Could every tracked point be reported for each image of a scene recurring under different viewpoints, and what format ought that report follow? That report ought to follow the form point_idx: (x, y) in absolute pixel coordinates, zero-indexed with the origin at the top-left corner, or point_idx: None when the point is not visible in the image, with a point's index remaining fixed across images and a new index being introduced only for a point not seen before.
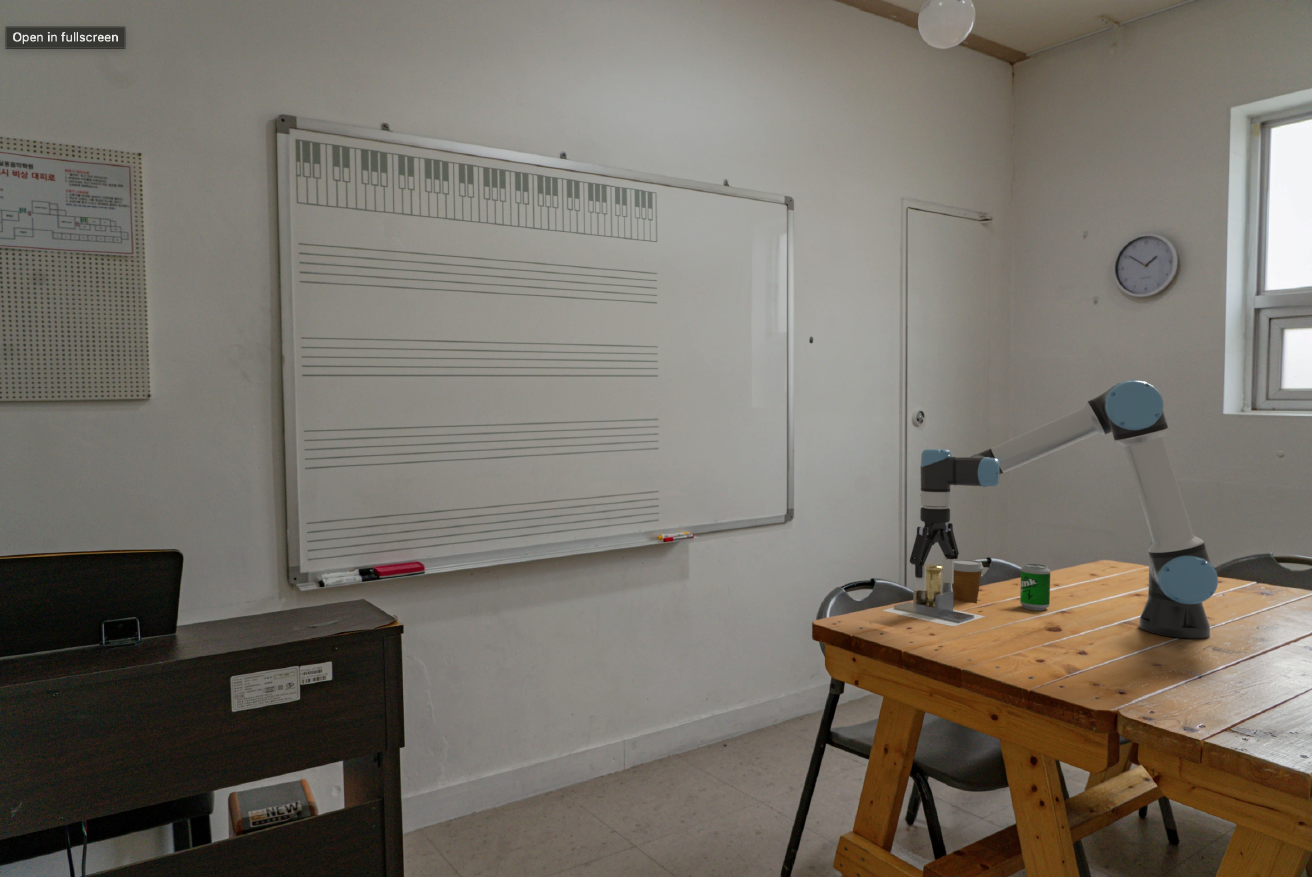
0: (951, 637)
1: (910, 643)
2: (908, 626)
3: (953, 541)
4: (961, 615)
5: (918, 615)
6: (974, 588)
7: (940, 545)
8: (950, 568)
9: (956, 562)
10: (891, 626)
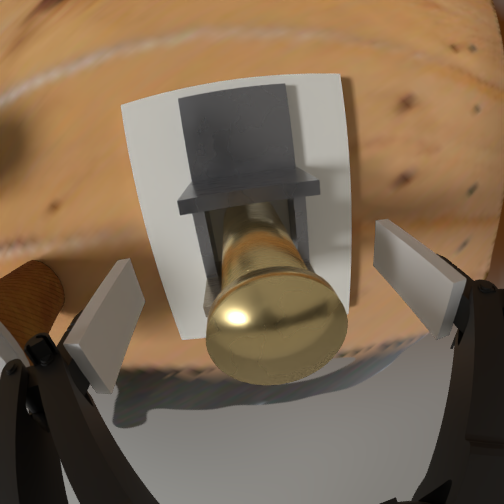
0: (388, 53)
1: (481, 105)
2: (392, 191)
3: (10, 460)
4: (221, 119)
5: (317, 227)
6: (10, 280)
7: (142, 484)
8: (105, 312)
9: None
10: (420, 217)
